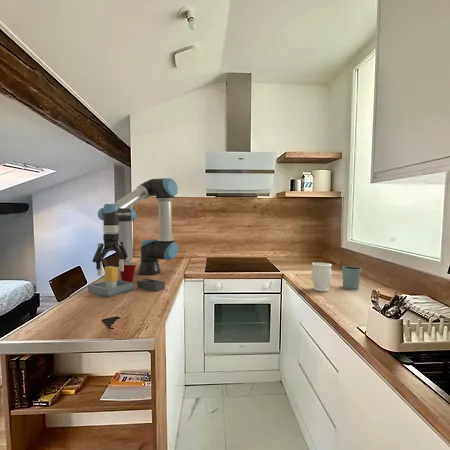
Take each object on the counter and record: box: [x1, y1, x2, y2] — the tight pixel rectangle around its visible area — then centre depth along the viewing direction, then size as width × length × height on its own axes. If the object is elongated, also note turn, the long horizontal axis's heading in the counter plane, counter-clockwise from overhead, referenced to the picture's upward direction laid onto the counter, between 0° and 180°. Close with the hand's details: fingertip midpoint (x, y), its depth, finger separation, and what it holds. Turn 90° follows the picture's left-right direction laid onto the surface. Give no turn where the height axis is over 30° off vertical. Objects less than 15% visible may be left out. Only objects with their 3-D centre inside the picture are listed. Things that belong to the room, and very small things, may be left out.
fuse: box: [104, 265, 119, 289], centre depth 153 cm, size 4×6×12 cm, turn 59°
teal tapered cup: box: [341, 265, 362, 291], centre depth 170 cm, size 10×10×12 cm
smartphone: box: [100, 316, 122, 330], centre depth 110 cm, size 7×1×14 cm
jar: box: [311, 261, 333, 292], centre depth 164 cm, size 11×10×15 cm
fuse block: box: [136, 278, 166, 292], centre depth 160 cm, size 7×14×4 cm, turn 60°
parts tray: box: [87, 279, 134, 298], centre depth 153 cm, size 16×16×4 cm
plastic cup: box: [117, 261, 138, 283], centre depth 172 cm, size 11×11×12 cm
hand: (111, 273), depth 153 cm, fingers open, 13 cm apart
